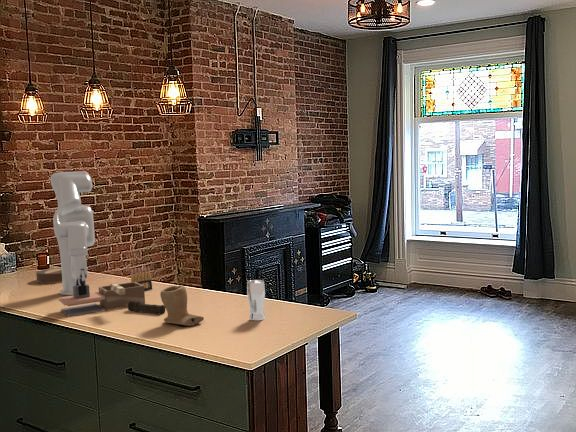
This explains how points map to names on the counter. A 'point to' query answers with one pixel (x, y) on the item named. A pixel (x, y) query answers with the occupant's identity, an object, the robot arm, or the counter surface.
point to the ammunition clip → (142, 278)
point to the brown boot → (178, 306)
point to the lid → (81, 297)
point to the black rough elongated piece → (145, 307)
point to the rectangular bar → (117, 289)
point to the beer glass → (256, 299)
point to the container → (49, 276)
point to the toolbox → (115, 300)
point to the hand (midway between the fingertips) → (81, 293)
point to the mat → (82, 309)
